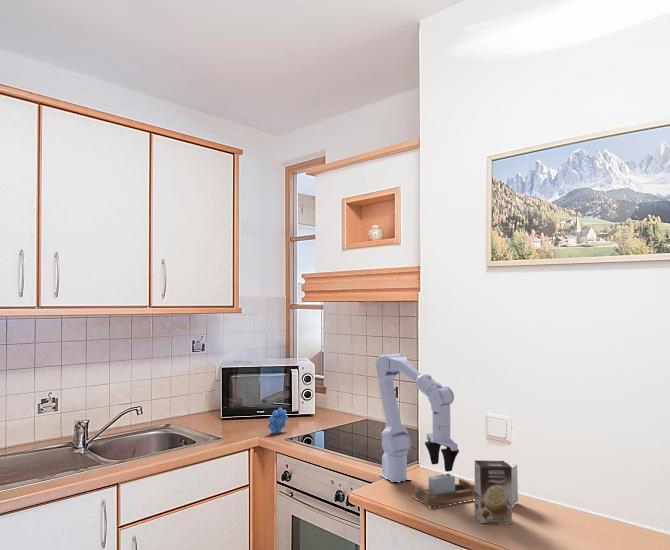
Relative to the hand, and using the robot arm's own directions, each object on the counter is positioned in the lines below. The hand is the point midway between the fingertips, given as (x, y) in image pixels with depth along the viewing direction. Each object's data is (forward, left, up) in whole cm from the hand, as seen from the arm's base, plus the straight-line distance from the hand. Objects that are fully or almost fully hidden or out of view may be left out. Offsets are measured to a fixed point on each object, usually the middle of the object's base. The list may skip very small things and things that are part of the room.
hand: (441, 467), depth 166 cm
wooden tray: (+2, 0, -9) cm, 9 cm away
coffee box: (+21, +3, -10) cm, 23 cm away
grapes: (-99, -25, -10) cm, 103 cm away
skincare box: (+14, +15, -10) cm, 23 cm away
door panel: (+2, -1, -8) cm, 9 cm away
